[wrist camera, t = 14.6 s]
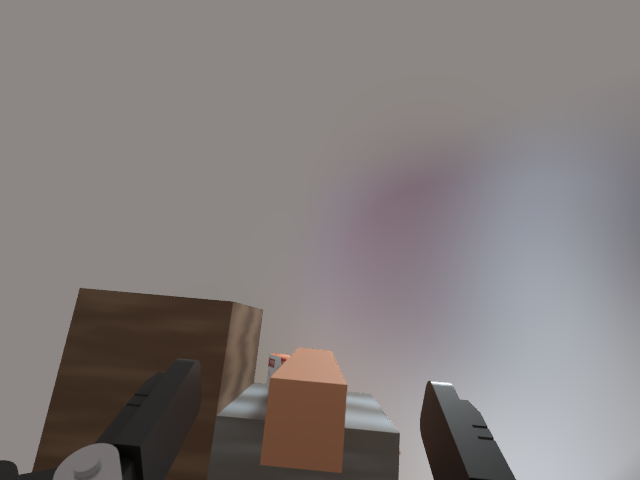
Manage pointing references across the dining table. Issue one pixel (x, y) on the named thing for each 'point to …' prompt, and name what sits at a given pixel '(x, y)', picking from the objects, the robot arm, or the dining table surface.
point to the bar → (306, 413)
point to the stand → (216, 388)
